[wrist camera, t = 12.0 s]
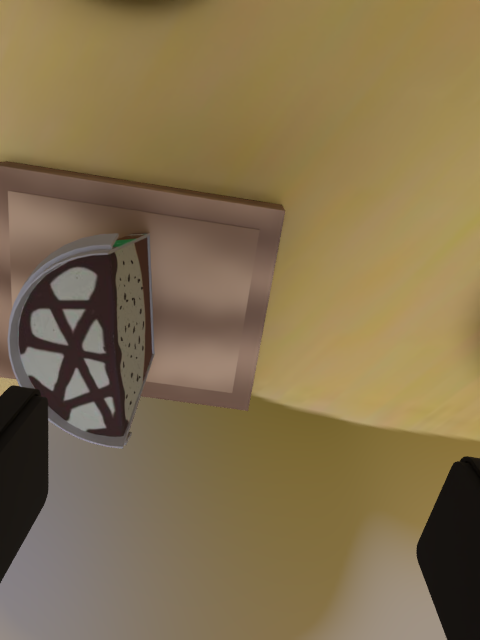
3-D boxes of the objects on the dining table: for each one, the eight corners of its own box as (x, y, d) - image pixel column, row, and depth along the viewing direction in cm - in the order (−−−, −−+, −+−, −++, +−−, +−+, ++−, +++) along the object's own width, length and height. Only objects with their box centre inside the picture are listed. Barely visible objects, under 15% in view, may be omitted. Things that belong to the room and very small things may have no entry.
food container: (57, 207, 31) (-24, 237, 21) (148, 210, 31) (107, 241, 21) (75, 369, 35) (15, 452, 26) (155, 372, 35) (123, 456, 26)
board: (7, 161, 33) (-17, 163, 30) (281, 204, 33) (285, 211, 31) (14, 359, 38) (-5, 377, 35) (247, 391, 39) (247, 411, 36)
